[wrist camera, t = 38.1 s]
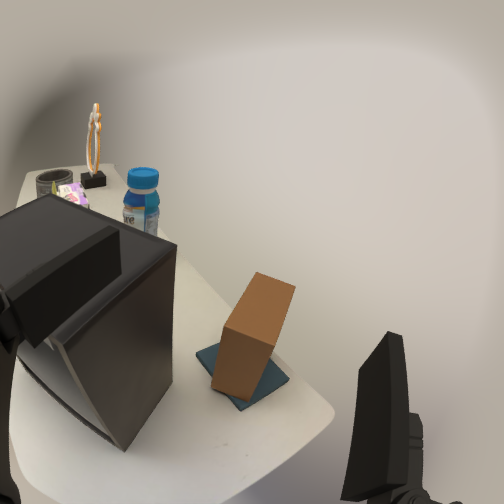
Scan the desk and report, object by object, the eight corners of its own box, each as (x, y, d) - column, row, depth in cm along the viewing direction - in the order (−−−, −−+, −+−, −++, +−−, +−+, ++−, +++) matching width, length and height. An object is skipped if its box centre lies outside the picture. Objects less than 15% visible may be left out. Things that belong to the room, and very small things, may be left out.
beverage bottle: (161, 259, 61) (167, 176, 51) (126, 264, 57) (125, 178, 47) (153, 241, 67) (158, 165, 57) (121, 244, 63) (122, 166, 53)
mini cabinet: (172, 381, 36) (177, 244, 24) (124, 452, 25) (62, 345, 12) (75, 321, 40) (50, 192, 28) (24, 369, 28) (-35, 236, 16)
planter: (36, 225, 60) (31, 183, 53) (43, 208, 68) (40, 170, 62) (72, 222, 66) (69, 180, 59) (76, 205, 74) (74, 167, 68)
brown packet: (270, 347, 45) (295, 286, 38) (248, 402, 35) (275, 345, 28) (238, 335, 46) (256, 271, 39) (210, 386, 36) (223, 325, 29)
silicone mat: (287, 381, 41) (289, 378, 40) (240, 411, 35) (241, 408, 34) (243, 334, 48) (244, 331, 48) (195, 355, 42) (196, 352, 41)
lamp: (108, 188, 89) (114, 104, 73) (87, 192, 83) (91, 105, 67) (98, 176, 98) (103, 102, 82) (79, 179, 92) (82, 103, 76)
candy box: (96, 274, 51) (89, 203, 43) (71, 280, 48) (60, 208, 39) (85, 243, 59) (81, 180, 51) (64, 247, 56) (57, 184, 47)
